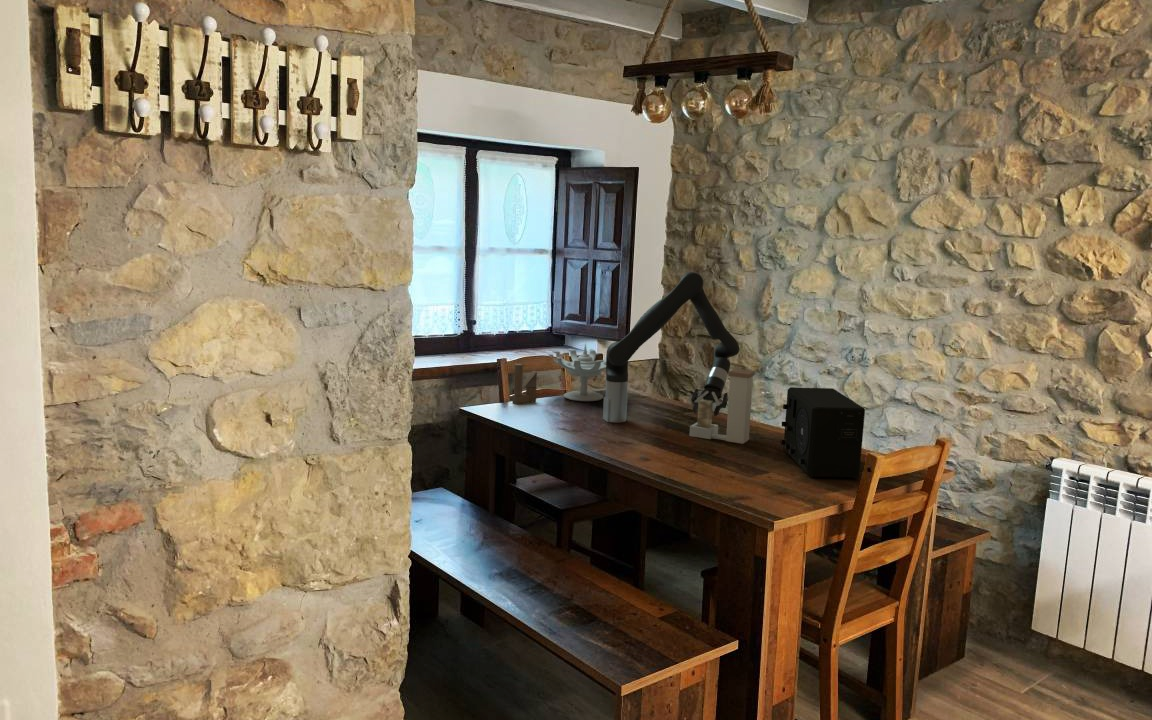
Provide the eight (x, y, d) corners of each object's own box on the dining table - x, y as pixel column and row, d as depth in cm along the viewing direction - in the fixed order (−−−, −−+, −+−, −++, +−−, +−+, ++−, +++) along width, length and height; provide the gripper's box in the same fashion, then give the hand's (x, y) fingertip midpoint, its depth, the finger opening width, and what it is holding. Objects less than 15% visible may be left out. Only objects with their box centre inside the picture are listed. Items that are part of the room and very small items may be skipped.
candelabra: (629, 405, 407) (631, 346, 402) (554, 406, 399) (555, 346, 395) (610, 390, 440) (612, 336, 435) (540, 391, 432) (542, 336, 427)
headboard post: (689, 435, 355) (693, 367, 350) (697, 431, 362) (701, 364, 358) (743, 444, 344) (748, 374, 340) (750, 439, 352) (755, 371, 347)
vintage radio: (775, 450, 338) (780, 385, 334) (826, 451, 338) (831, 386, 334) (802, 479, 301) (808, 407, 297) (859, 481, 301) (866, 408, 297)
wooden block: (536, 402, 408) (537, 363, 405) (516, 404, 401) (517, 365, 398) (531, 400, 411) (532, 362, 408) (512, 403, 404) (512, 364, 401)
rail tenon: (696, 435, 356) (698, 401, 353) (700, 433, 360) (702, 399, 357) (707, 437, 354) (709, 402, 351) (710, 435, 358) (712, 400, 355)
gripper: (697, 373, 363) (685, 405, 355) (731, 377, 357) (719, 410, 349) (701, 384, 369) (690, 416, 361) (734, 388, 362) (723, 421, 354)
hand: (704, 413), depth 355 cm, fingers open, 8 cm apart
